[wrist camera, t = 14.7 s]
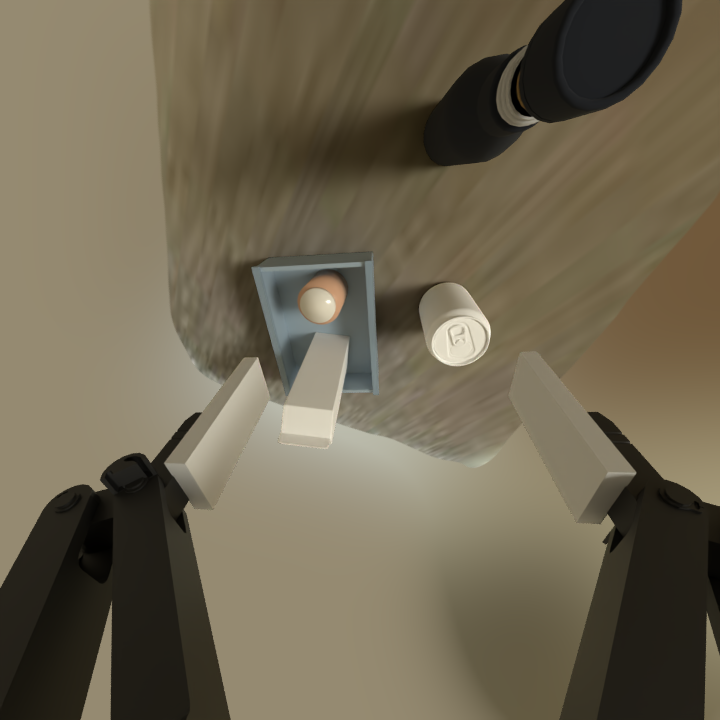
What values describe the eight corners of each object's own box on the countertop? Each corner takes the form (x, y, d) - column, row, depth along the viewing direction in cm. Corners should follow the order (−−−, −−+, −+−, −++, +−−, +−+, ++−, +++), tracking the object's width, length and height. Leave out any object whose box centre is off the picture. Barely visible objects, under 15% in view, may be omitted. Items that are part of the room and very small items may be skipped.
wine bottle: (419, 164, 37) (492, 149, 12) (428, 97, 33) (557, -131, 8) (471, 167, 37) (658, 156, 11) (485, 99, 33) (798, -131, 8)
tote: (266, 256, 44) (251, 267, 39) (374, 250, 43) (372, 260, 38) (295, 375, 57) (285, 395, 51) (379, 374, 55) (379, 395, 50)
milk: (315, 331, 50) (274, 423, 32) (350, 335, 50) (329, 429, 32) (315, 361, 54) (277, 459, 35) (348, 364, 53) (327, 465, 35)
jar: (303, 281, 46) (286, 298, 39) (333, 261, 43) (321, 275, 37) (325, 313, 48) (313, 333, 41) (355, 295, 46) (348, 314, 39)
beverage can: (424, 333, 50) (433, 374, 40) (413, 289, 46) (421, 322, 36) (473, 321, 48) (496, 361, 38) (466, 274, 44) (491, 305, 34)
